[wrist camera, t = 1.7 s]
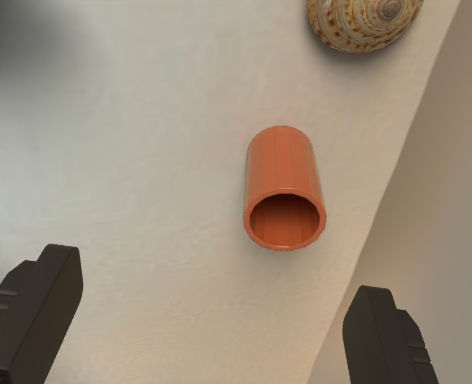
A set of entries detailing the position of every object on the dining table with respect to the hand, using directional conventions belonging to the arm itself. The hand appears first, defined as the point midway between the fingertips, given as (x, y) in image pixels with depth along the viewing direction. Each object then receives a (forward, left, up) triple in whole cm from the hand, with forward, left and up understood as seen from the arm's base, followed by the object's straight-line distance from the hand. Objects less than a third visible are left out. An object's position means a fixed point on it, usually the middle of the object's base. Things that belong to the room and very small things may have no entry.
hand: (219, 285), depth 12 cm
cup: (-6, -10, -26) cm, 29 cm away
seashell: (+8, -4, -27) cm, 28 cm away
